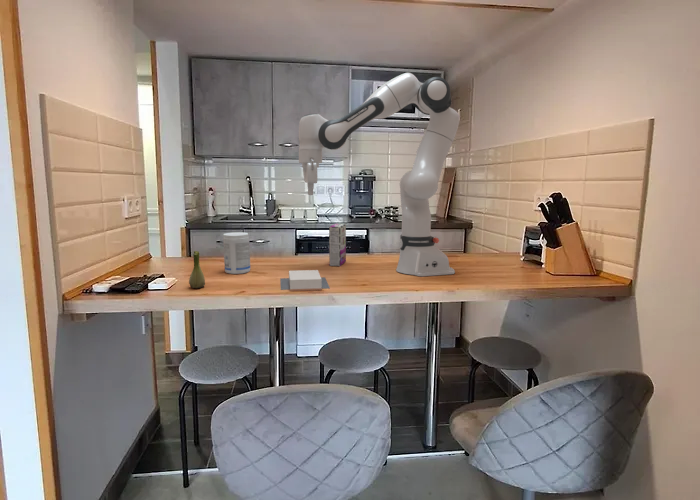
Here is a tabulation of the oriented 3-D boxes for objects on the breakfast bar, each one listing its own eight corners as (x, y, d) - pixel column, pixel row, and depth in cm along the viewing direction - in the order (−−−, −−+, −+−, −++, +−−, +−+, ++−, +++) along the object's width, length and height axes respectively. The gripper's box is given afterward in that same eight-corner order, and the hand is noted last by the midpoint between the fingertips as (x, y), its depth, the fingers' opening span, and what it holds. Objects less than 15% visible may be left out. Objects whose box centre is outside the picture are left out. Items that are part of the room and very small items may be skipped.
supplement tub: (252, 269, 179) (251, 232, 176) (247, 274, 169) (246, 235, 167) (227, 269, 178) (226, 231, 176) (221, 274, 169) (220, 235, 167)
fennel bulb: (198, 290, 146) (197, 253, 144) (185, 289, 148) (183, 252, 146) (208, 286, 152) (207, 250, 150) (195, 285, 153) (193, 249, 151)
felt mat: (324, 278, 165) (325, 277, 165) (330, 289, 150) (330, 288, 150) (280, 279, 163) (280, 278, 163) (280, 290, 147) (280, 289, 147)
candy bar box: (334, 261, 198) (335, 223, 195) (346, 261, 197) (346, 223, 194) (328, 266, 187) (328, 226, 184) (340, 266, 186) (340, 226, 183)
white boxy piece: (317, 270, 160) (321, 279, 147) (317, 280, 161) (321, 290, 147) (288, 270, 159) (290, 279, 145) (289, 280, 159) (290, 290, 146)
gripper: (321, 157, 163) (321, 196, 166) (316, 159, 183) (316, 193, 186) (303, 157, 162) (303, 196, 165) (300, 159, 182) (301, 193, 185)
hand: (310, 195), depth 175 cm, fingers closed
